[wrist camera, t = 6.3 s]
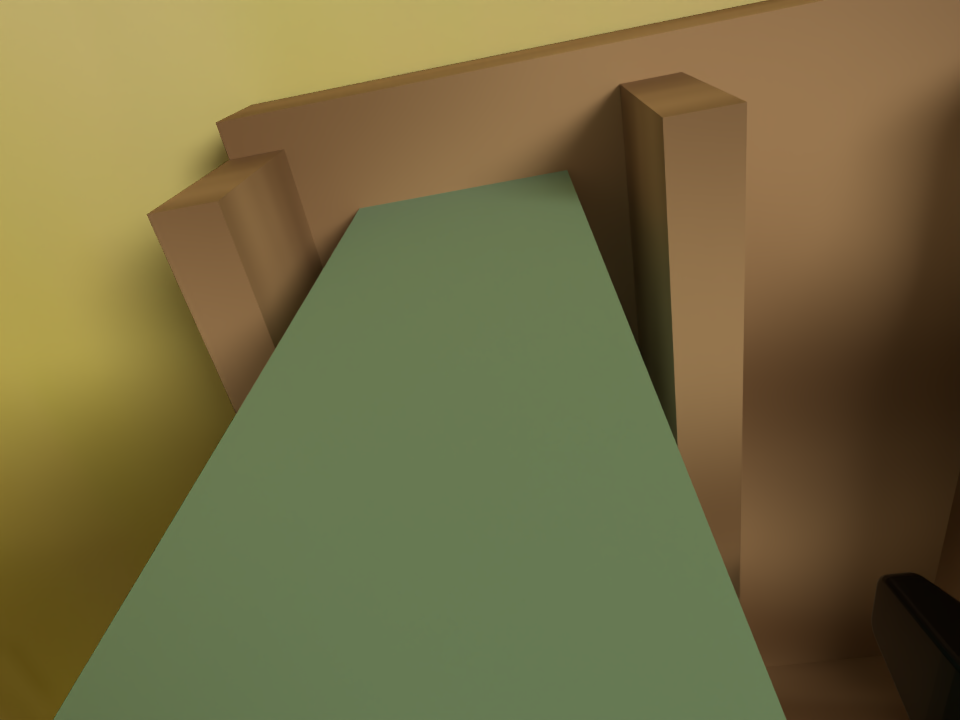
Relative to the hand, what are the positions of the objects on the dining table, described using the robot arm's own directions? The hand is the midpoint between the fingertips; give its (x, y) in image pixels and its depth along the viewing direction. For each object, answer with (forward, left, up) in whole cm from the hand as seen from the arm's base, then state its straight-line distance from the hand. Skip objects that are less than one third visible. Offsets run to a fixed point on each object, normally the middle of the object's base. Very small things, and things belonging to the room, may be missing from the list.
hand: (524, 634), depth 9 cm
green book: (0, 0, -4) cm, 4 cm away
